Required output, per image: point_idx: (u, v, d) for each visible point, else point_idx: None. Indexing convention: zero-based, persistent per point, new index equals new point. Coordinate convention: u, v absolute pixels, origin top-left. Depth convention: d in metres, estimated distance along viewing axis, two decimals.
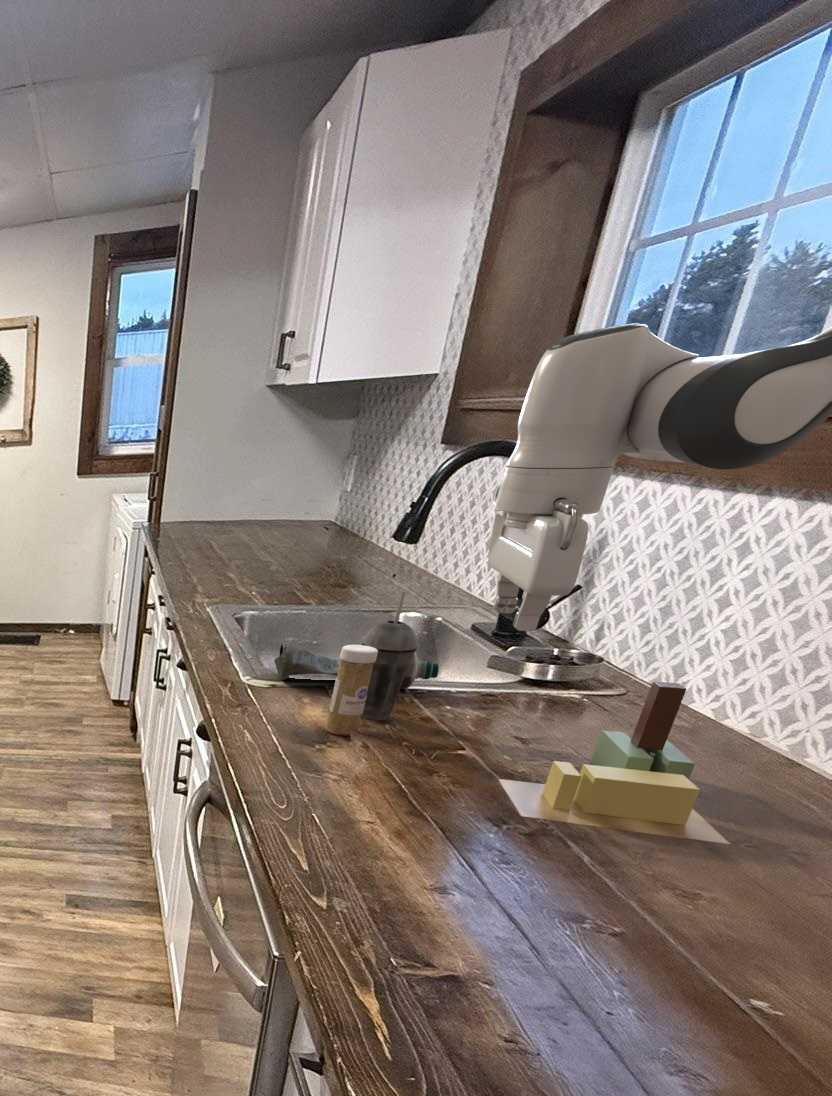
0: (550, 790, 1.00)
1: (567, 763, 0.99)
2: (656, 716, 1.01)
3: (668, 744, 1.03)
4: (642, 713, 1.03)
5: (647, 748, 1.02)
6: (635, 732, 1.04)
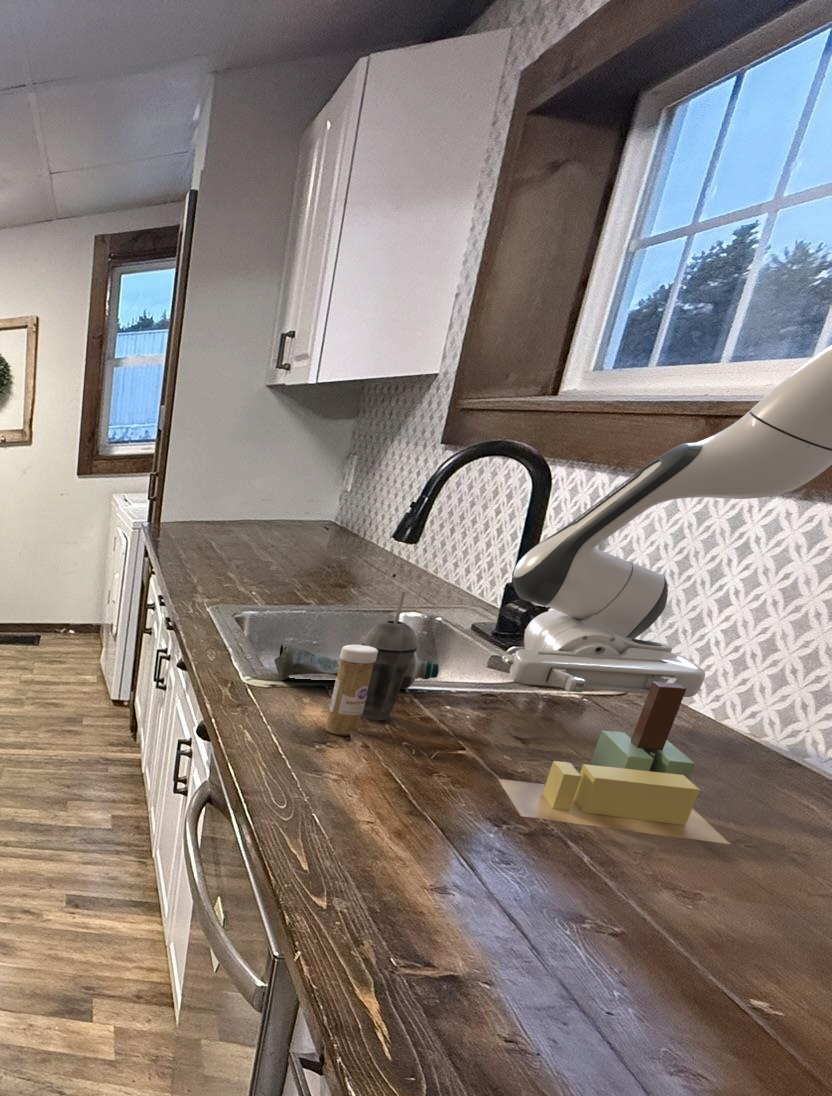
0: (550, 790, 1.00)
1: (567, 763, 0.99)
2: (656, 716, 1.01)
3: (668, 744, 1.03)
4: (642, 713, 1.03)
5: (647, 748, 1.02)
6: (635, 732, 1.04)
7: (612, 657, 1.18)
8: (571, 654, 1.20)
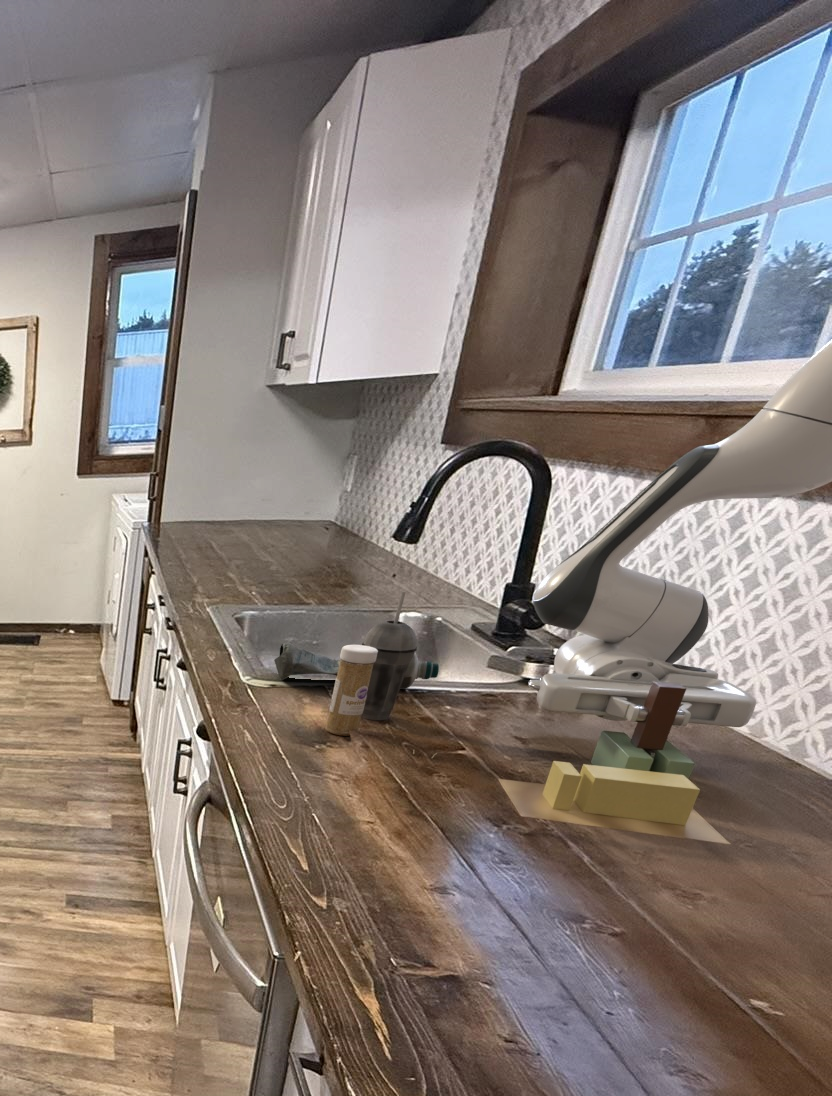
0: (550, 790, 1.00)
1: (567, 763, 0.99)
2: (656, 716, 1.01)
3: (668, 744, 1.03)
4: None
5: (647, 748, 1.02)
6: (635, 732, 1.04)
7: (650, 683, 1.08)
8: (604, 679, 1.10)
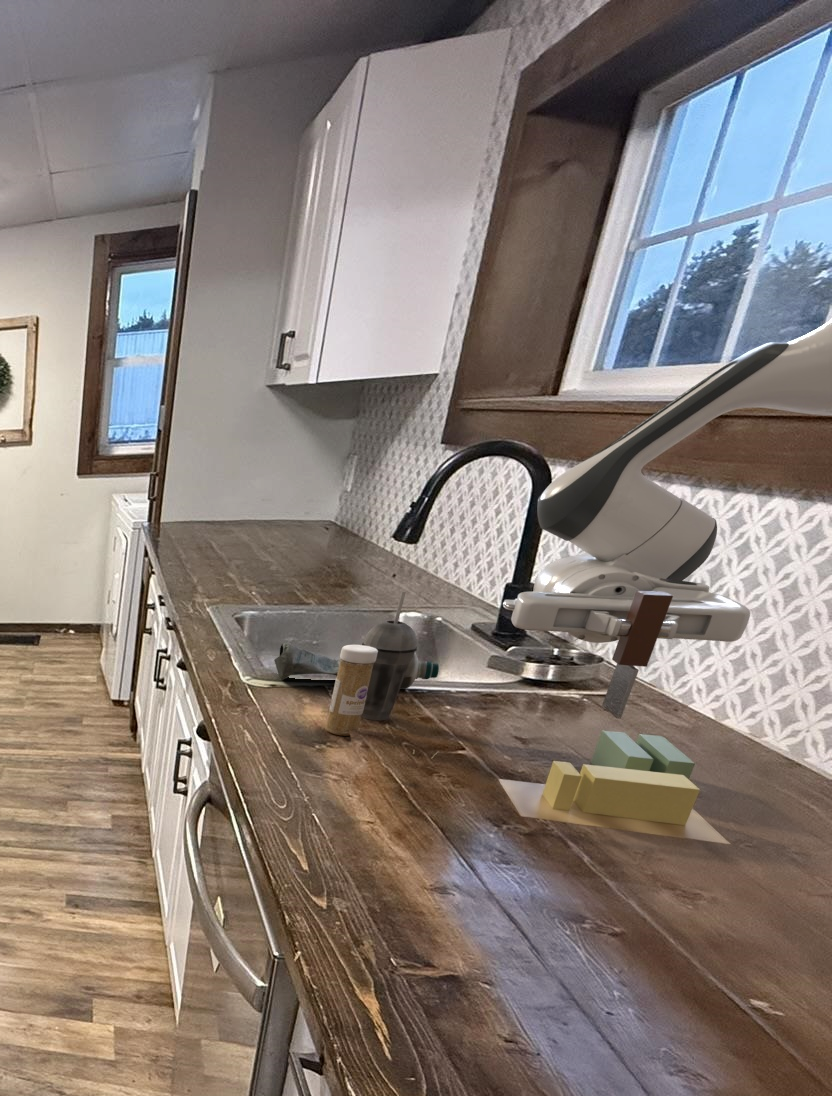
0: (550, 790, 1.00)
1: (567, 763, 0.99)
2: (640, 628, 0.91)
3: (668, 744, 1.03)
4: None
5: (630, 665, 0.93)
6: (617, 648, 0.94)
7: None
8: (585, 596, 1.00)
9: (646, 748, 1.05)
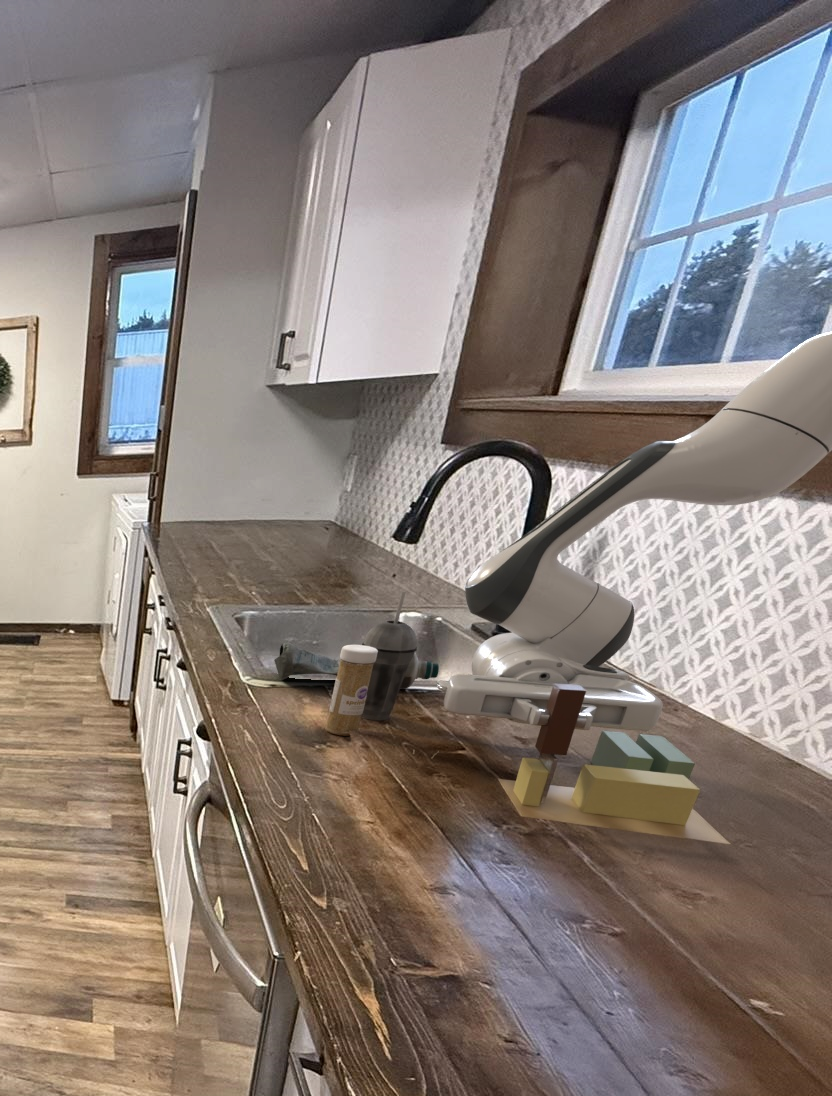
0: (519, 787, 1.01)
1: (536, 759, 1.00)
2: (557, 720, 0.96)
3: (668, 744, 1.03)
4: None
5: (550, 753, 0.97)
6: (539, 737, 0.99)
7: None
8: (512, 681, 1.05)
9: (646, 748, 1.05)
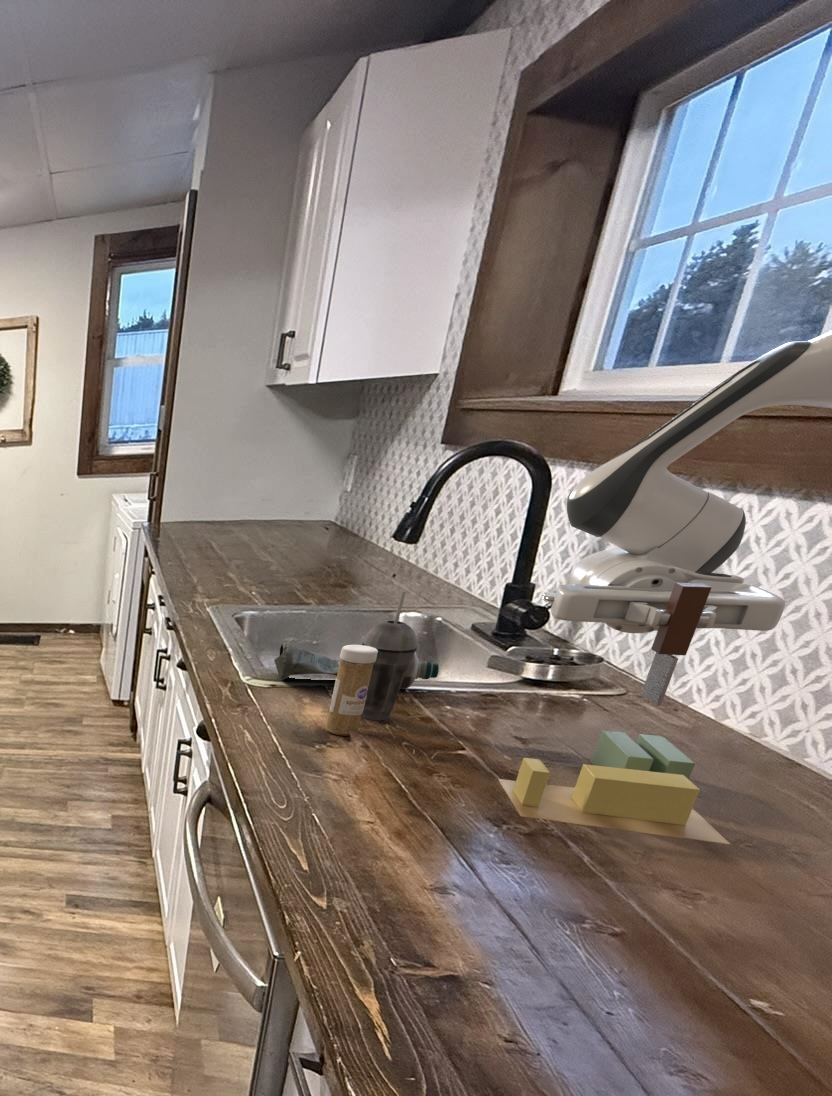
0: (520, 787, 1.01)
1: (537, 760, 1.00)
2: (679, 619, 0.95)
3: (668, 744, 1.03)
4: None
5: (669, 654, 0.97)
6: (656, 638, 0.98)
7: None
8: (623, 588, 1.04)
9: (646, 748, 1.05)
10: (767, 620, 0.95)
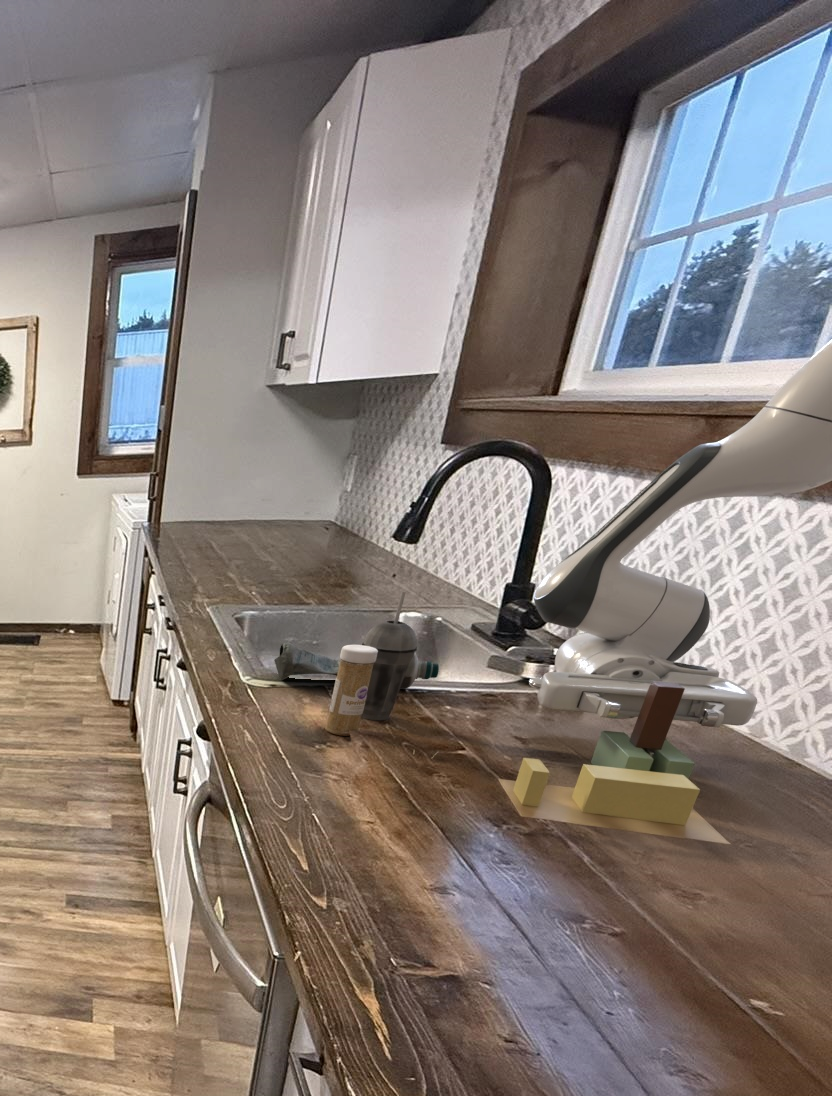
0: (520, 787, 1.01)
1: (537, 760, 1.00)
2: (654, 716, 1.01)
3: (668, 744, 1.03)
4: (641, 713, 1.03)
5: (645, 748, 1.02)
6: (634, 732, 1.04)
7: None
8: (605, 678, 1.10)
9: None
10: (740, 716, 1.01)
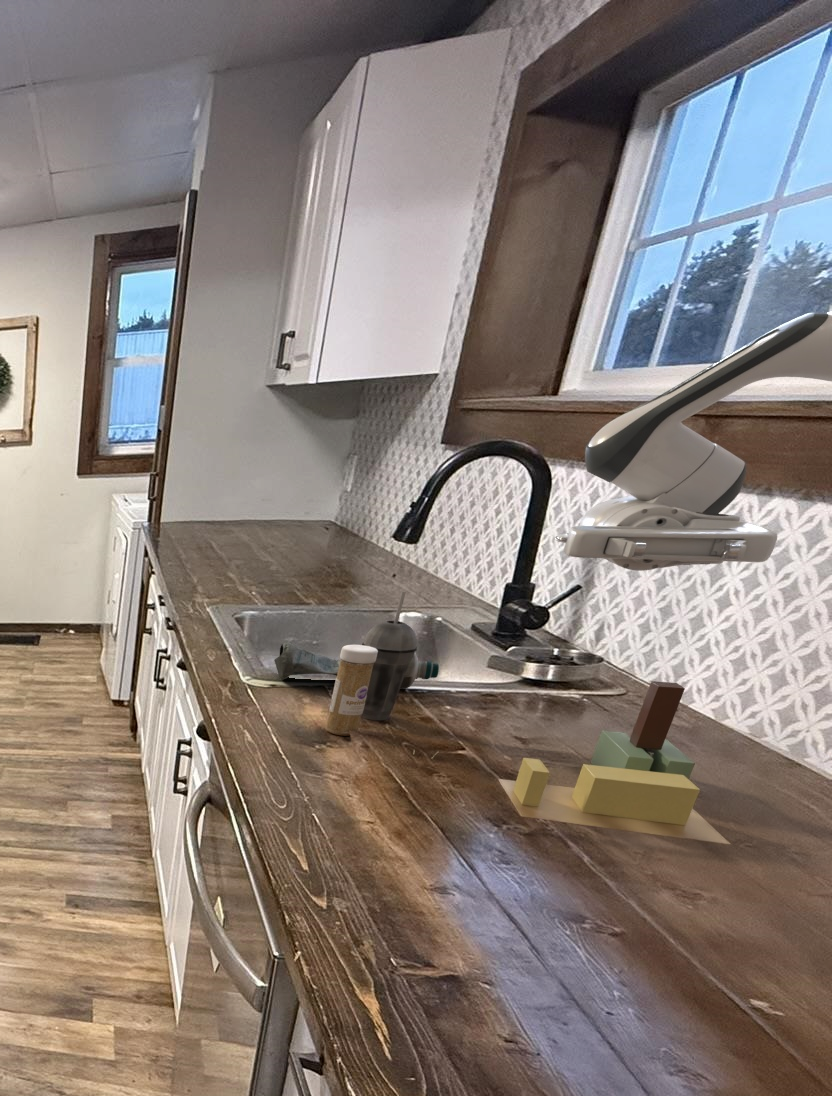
0: (520, 787, 1.01)
1: (537, 760, 1.00)
2: (654, 716, 1.01)
3: (668, 744, 1.03)
4: (641, 713, 1.03)
5: (645, 748, 1.02)
6: (634, 732, 1.04)
7: (675, 528, 1.12)
8: (630, 528, 1.14)
9: None
10: (761, 552, 1.05)
